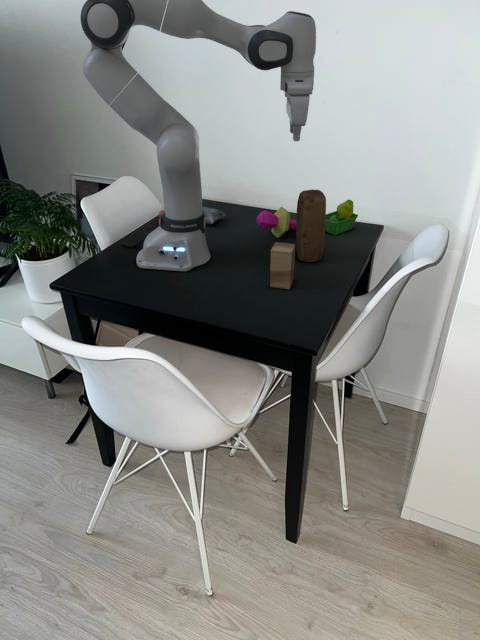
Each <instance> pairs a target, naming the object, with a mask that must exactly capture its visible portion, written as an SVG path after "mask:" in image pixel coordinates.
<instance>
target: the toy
mask: <svg viewBox="0 0 480 640" xmlns="http://www.w3.org/2000/svg"><path fill="white" fill-rule="evenodd" d="M256 223H257V224H258V226H259V227H260V228H261V229H263V230H265V229H266V230H267V229H271V232H270V233H272V234H273V236H275V238H277V239H278V238H279V239H280V238H282V237H283V236H284V235H285V234H286V233H287V232H288V231H296V219H293V218H291V213H290V212H289V211H288V210H287V209H286V208H285V207H283V206H280V207H279V208H278V209H277V210H276V211H275V212H274V213H272V212H270V211H269V210H266V209H265V210H262V211H260V212H259V214H258V215H257V216H256Z"/></svg>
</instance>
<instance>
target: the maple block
mask: <svg viewBox="0 0 480 640" xmlns="http://www.w3.org/2000/svg"><path fill="white" fill-rule="evenodd" d="M295 258H296V243H295V244H294V243H286V242H278V241H277V242H276V241H275V242H274V244H273V246H272V247H271V249H270V268H269V269H270V271H269V273H270V274H269V275H270V276H269V277H270V278H269V287H270V288H274V289H275V288H276V289H283V290H284V289H285V290H290V289H292V288H291V287H292V285H293V282H294V280H295V279H294V278H295V260H296V259H295Z"/></svg>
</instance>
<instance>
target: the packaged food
mask: <svg viewBox="0 0 480 640" xmlns="http://www.w3.org/2000/svg"><path fill="white" fill-rule="evenodd" d="M203 212H204V215H205V225H213V224H215V223H216V222H218V221H221V220H222V219H223V218H224V217H226V214H225V212H223V211H222V210H220V209H218V208H214V207H208V206H203Z"/></svg>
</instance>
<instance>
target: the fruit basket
mask: <svg viewBox="0 0 480 640" xmlns="http://www.w3.org/2000/svg"><path fill="white" fill-rule="evenodd" d="M358 216H359V214H357V213H354V201H353V200H352V199H346V200H345V201H343V202H341V203H340V204H338V205H337V206H336V210H335V211H332V212H329V213H326V222H325V233H328V234H330V235H333V236H337V235H338V234H342V233H344V232H347V231H350V230H352V229H353V227H354V226H355V223H356V221H357V218H359V217H358Z"/></svg>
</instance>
